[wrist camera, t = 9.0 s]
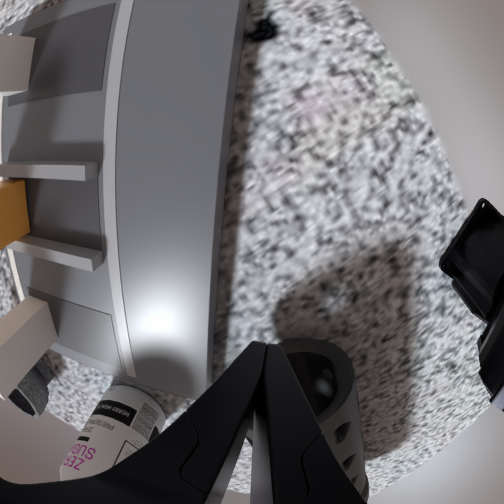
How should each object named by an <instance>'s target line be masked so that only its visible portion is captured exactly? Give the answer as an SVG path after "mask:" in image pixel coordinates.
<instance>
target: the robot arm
mask: <svg viewBox="0 0 504 504" xmlns="http://www.w3.org/2000/svg"><path fill="white" fill-rule="evenodd" d="M483 203H485V205H484V207H483V208H482V205H483ZM445 263H447V264H446V265H445V266H443V265H444V264H445ZM439 268H440V269H441V270H442V271H443V272H444V273H446V274H447V275H448V276H450V277H451V278H453V279H454V280H453V281H452V287H453V288H454V290H455V291H456V292H457V293H458V295H459V296H460V297H461V299H462V300H463V302H464V303H465V304H466V306H467V307H468V308H469V310H470V311H471V313H472V314H474V315H475V316H477V317H478V318H479V319H481V320H482V321H483V322H485V323H486V324H487V326H486V328H485V330H484V332H483V334H482V335H480V337H479V339H478V341H477V345H478V350H479V362H480V367H481V369H480V370H479V376H480V378H481V380H482V382H483V384H484V386H485V387H486V389H487V391H488V392H489V394H490V395H491V396H492V397H491V398H490V400H489V401H490V403H491V404H493V405H494V406H496V407H498V408H499V409H501V410H502V411H503V412H504V216H503V215H501V214H500V213H499V212H498V211H497V209H496V208H494V206H493V205H492V204H491V203H490V202H489V201H488V200H486V199H484V198H481V199H480V200H479V201H478V202H477V204H476V206H475V207H474V209H473V211H472V212H471V214H470V216H469V217H468V219H467V221H466V222H465V224H464V225H463V227H462V229H461V230H460V232H459V233H458V235H457V236H456V238H455V239H454V241H453V242H452V244H451V245H450V247H449V248H448V250H447V251H446V253H445V254H444V255H443V257H442V258H441V260H440V261H439ZM255 404H256V405H255ZM254 409H255V412H254ZM186 411H187V412H186ZM186 411H185V412H184V413H182V414H181V415H180V416H179V417H178V418H177V419H176V420H175V421H174V422H173V423H172V424H171V425H170V426H169V427H168V428H166V429H165V430H164V431H163V432H162V433H160V434H159V435H158V436H157V437H155V438H154V439H153V440H151V441H150V442H149V443H147V444H146V445H144V446H143V447H141V448H140V449H138V450H137V451H135V452H134V453H133V454H131V455H130V456H128V457H127V458H125V459H124V460H122V461H120V462H119V463H117V464H116V465H114V466H113V467H111V468H109V469H108V470H106V471H104V472H101V473H99V474H96V475H93V476H89V477H84V478H78V479H71V480H64V481H56V482H48V483H38V484H17V483H11V482H8V481H6V480H4V479H2V478H1V477H0V504H221V502H222V499H223V497H224V494H225V492H226V489H227V486H228V484H229V481H230V478H231V476H232V473H233V470H234V468H235V465H236V462H237V460H238V457H239V454H240V451H241V448H242V446H243V443H244V440H245V437H246V434H247V431H248V429H249V426H250V423H251V420H252V416H253V413H254V426H253V449H252V471H251V492H250V504H367V503H366V501H365V500H364V498H363V497H362V496H361V494H360V493H359V491H358V490H357V488H356V487H355V486H354V484H353V483H352V481H351V480H350V478H349V477H348V476H347V474H346V473H345V471H344V469H343V468H342V466H341V465H340V463H339V462H338V460H337V458H336V457H335V455H334V453H333V451H332V449H331V447H330V445H329V443H328V441H327V439H326V437H325V435H324V434H322V432H323V431H322V429H321V427H320V425H319V423H318V421H317V419H316V417H315V415H314V413H313V411H312V408H311V406H310V404H309V402H308V400H307V398H306V396H305V394H304V392H303V390H302V388H301V386H300V383H299V381H298V379H297V377H296V375H295V373H294V371H293V369H292V367H291V365H290V362H289V360H288V358H287V356H286V354H285V352H284V350H283V348H282V346H281V345H277V344H271V343H268V344H267V346H266V343H265V342H259V341H252V342H251V343H250V344H249V345H248V346H247V347H246V348H245V349H244V350H243V352H242V353H241V354H240V355H239V356H238V357H237V358H236V359H235V360H234V361H233V362H232V363H231V364H230V365H229V367H228V368H227V369H226V370H225V371H224V372H223V373H222V374H221V375H220V376H219V377H218V378H217V379H216V380H215V381H214V382H213V383H212V384H211V385H210V386H209V387H208V388H207V389H206V391H205V392H204V393H203V394H202V395H201V396H200V397H199V398H198V399H197V400H196V401H195V402H194V403H193V404H192V405H191V406H190V407H189V408H188V409H187V410H186Z"/></svg>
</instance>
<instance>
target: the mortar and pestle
mask: <svg viewBox="0 0 504 504" xmlns="http://www.w3.org/2000/svg"><path fill="white" fill-rule="evenodd" d="M52 379H53V376H52V374H51V371H50V369H49V368H48V367H47V365H46V364H45V363H44V362H43V360H42V359H41V358H40V359H39V360H38V361H37V363H36V364H35V365H34V366H33V367H32V368H31V370H30V371H29V372H28V373H27V374H26V375H25V377H24V378H23V379H22V380H21V381H20V383H19V384H18V385H17V386H16V387H15V389H14V390H13V391H12V392H11V394H10V395H9V396H8V397H7V398H8V399H9V401H10V402H11V403H12V404H14V405H15V406H16V407H17V408H18V409H20V410H21V411H22V412H23V413H24V414H26V415H28V416H30V417H32V418H34V419H37V418H38V417H39V416H40V415H41V414H42V412H43V411H44V409H45V407H46V405H47V403H48V396H49V392H48V387H47V385H48V384H49V383H50V382H51V380H52Z"/></svg>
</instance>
